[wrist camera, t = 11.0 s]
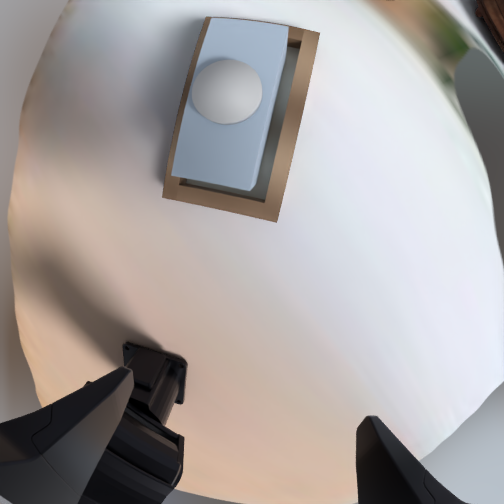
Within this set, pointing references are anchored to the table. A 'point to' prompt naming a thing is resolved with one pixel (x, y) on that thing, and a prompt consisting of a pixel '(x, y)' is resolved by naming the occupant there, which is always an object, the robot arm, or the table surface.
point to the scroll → (493, 18)
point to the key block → (231, 103)
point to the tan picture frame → (277, 145)
